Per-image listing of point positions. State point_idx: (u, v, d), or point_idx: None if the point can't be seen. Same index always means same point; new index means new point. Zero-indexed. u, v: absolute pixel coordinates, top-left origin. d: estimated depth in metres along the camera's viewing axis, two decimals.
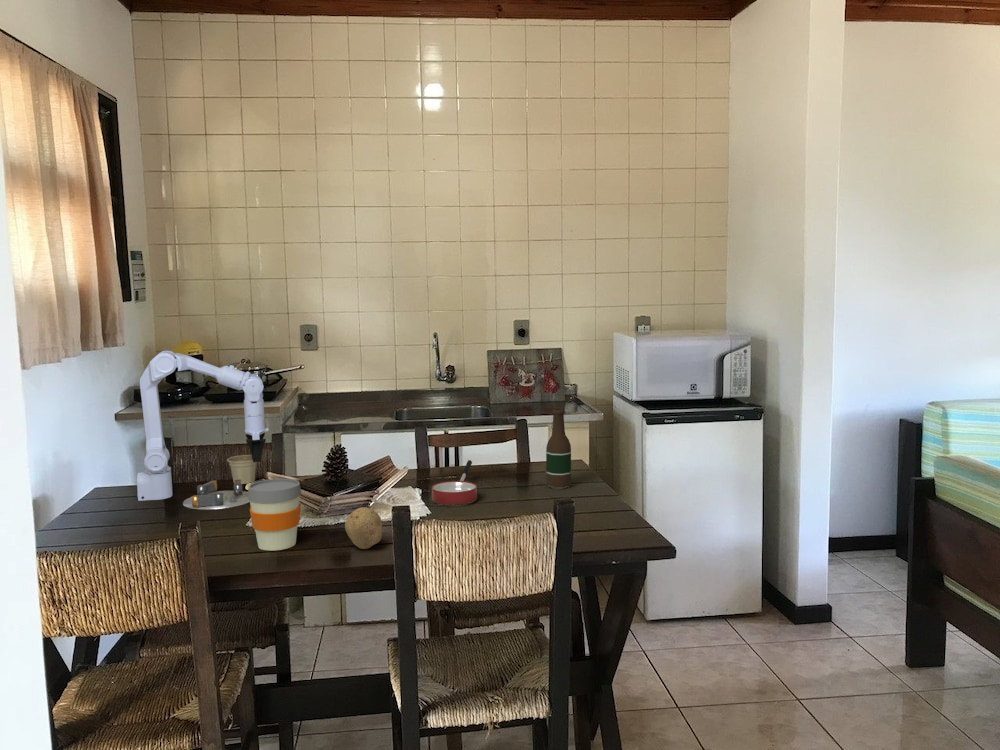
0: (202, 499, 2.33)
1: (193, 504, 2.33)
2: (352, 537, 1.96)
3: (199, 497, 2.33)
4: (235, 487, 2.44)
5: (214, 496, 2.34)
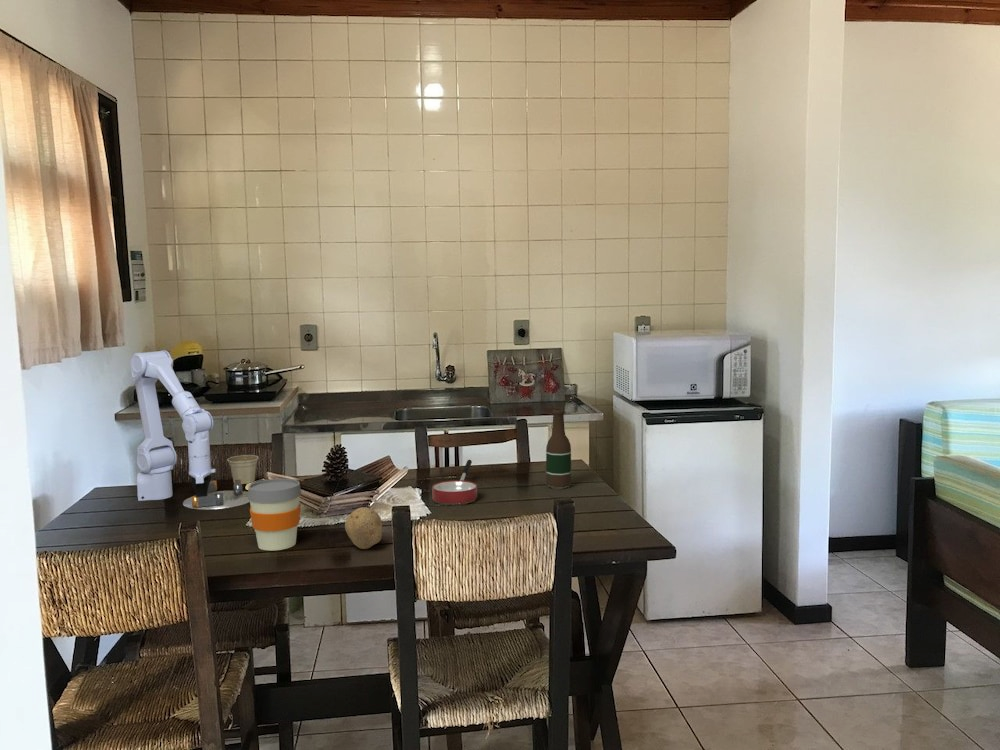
0: (202, 499, 2.33)
1: (193, 504, 2.32)
2: (352, 537, 1.96)
3: (199, 497, 2.32)
4: (235, 487, 2.44)
5: (214, 496, 2.34)
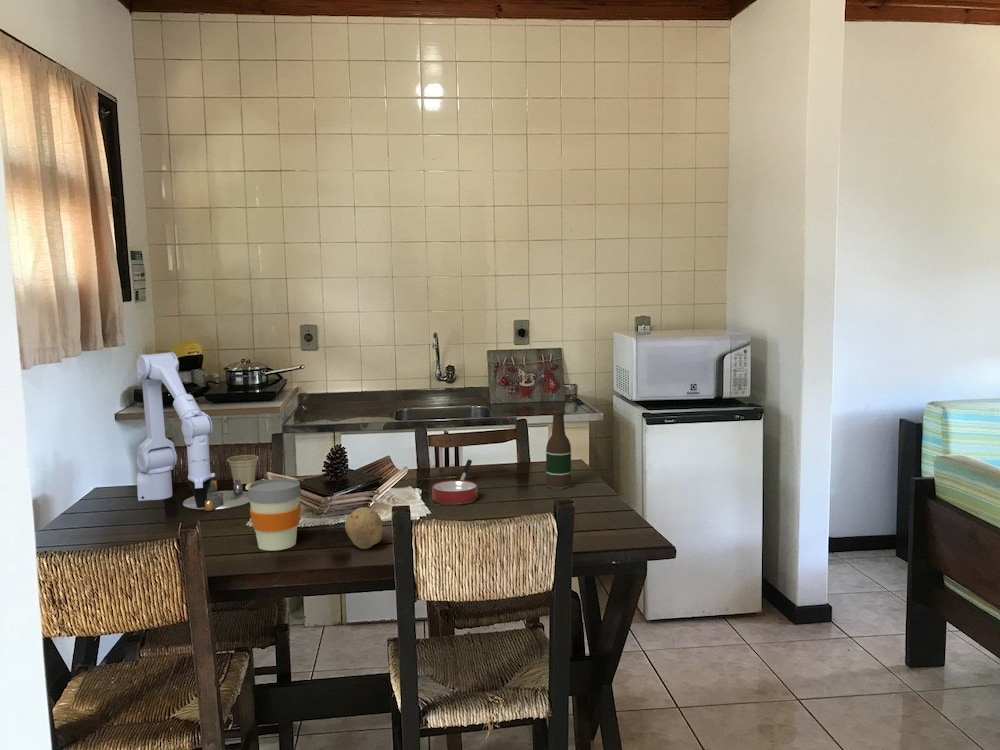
0: (214, 501, 2.31)
1: (210, 507, 2.29)
2: (352, 537, 1.96)
3: (212, 500, 2.30)
4: (235, 487, 2.44)
5: (219, 496, 2.34)
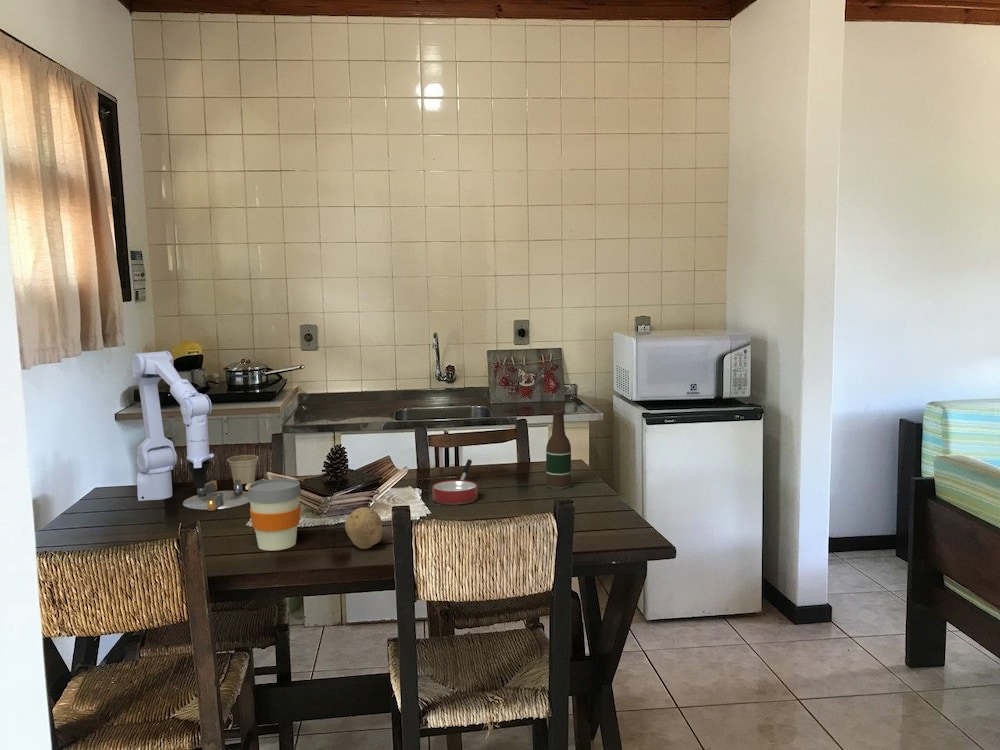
0: (216, 501, 2.31)
1: (213, 507, 2.29)
2: (352, 537, 1.96)
3: (215, 499, 2.30)
4: (235, 487, 2.44)
5: (220, 496, 2.34)
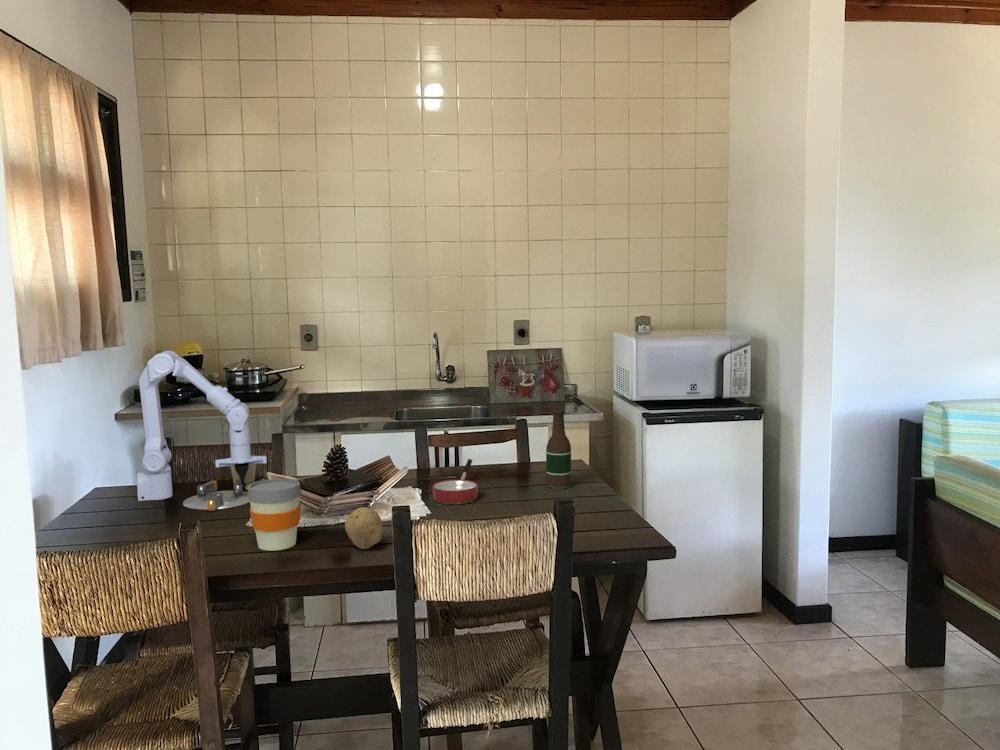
0: (216, 501, 2.31)
1: (213, 507, 2.29)
2: (352, 537, 1.96)
3: (215, 499, 2.30)
4: (235, 487, 2.44)
5: (220, 496, 2.34)
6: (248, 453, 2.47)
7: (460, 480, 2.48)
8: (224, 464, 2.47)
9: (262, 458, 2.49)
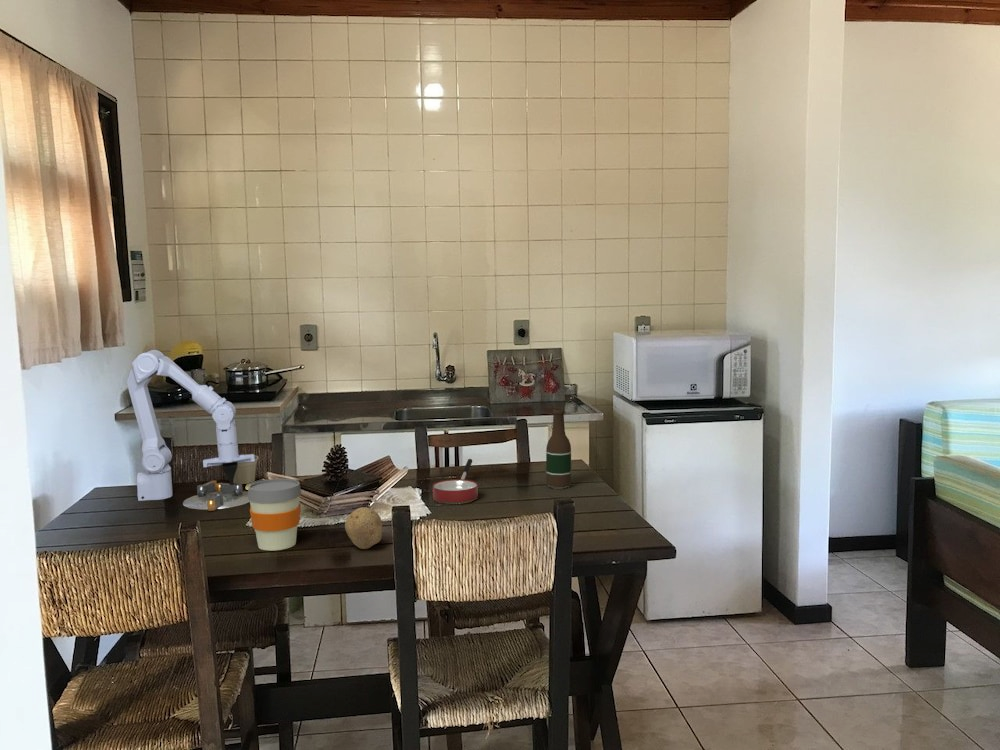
0: (216, 501, 2.31)
1: (213, 507, 2.29)
2: (352, 537, 1.96)
3: (215, 499, 2.30)
4: (239, 487, 2.44)
5: (220, 496, 2.34)
6: (236, 452, 2.46)
7: (460, 480, 2.48)
8: (212, 464, 2.46)
9: (250, 456, 2.48)
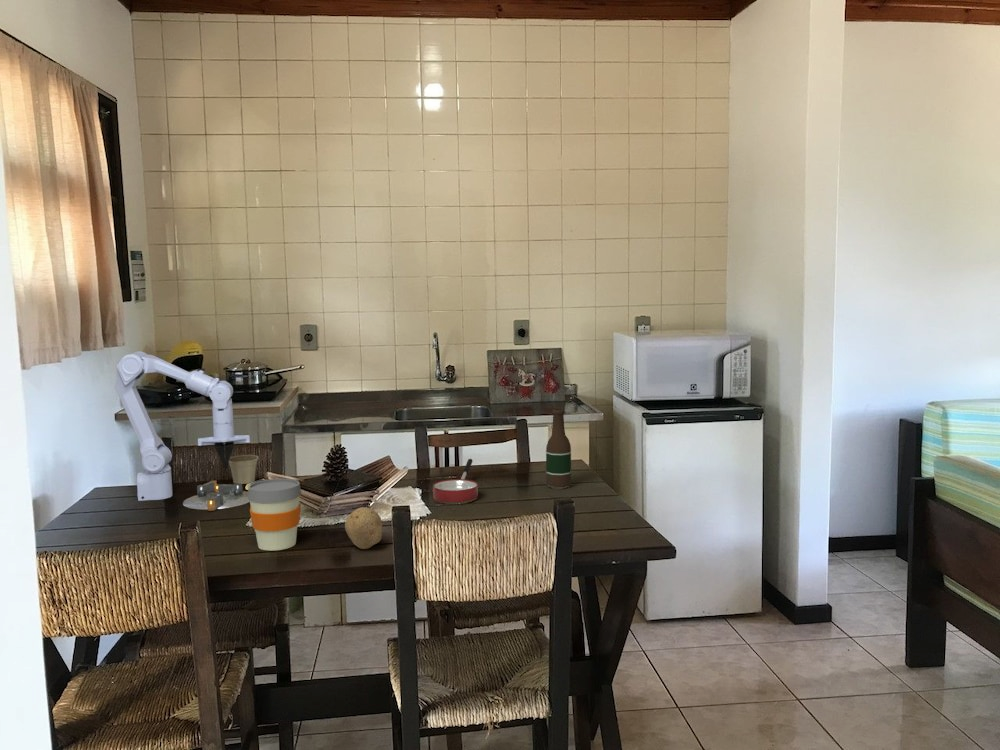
0: (216, 501, 2.31)
1: (213, 507, 2.29)
2: (352, 537, 1.96)
3: (215, 499, 2.30)
4: (240, 487, 2.44)
5: (220, 496, 2.34)
6: (231, 432, 2.45)
7: (460, 480, 2.48)
8: (207, 443, 2.45)
9: (245, 437, 2.47)
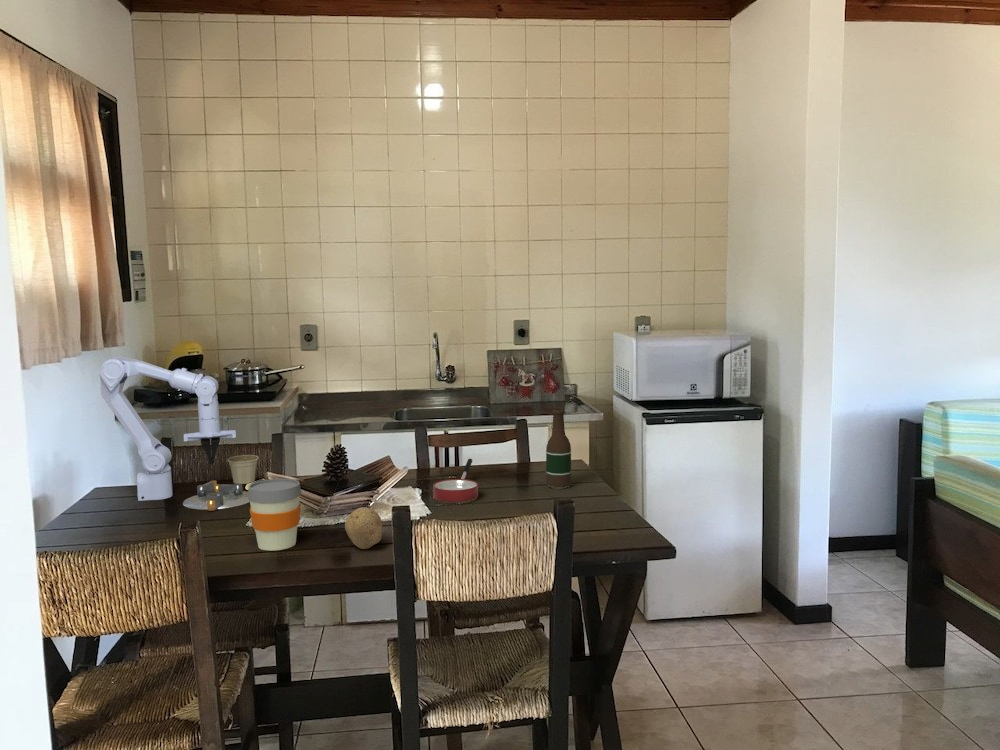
0: (216, 501, 2.31)
1: (213, 507, 2.29)
2: (352, 537, 1.96)
3: (215, 499, 2.30)
4: (240, 487, 2.44)
5: (220, 496, 2.34)
6: (217, 427, 2.45)
7: (460, 480, 2.49)
8: (192, 438, 2.45)
9: (231, 432, 2.47)
